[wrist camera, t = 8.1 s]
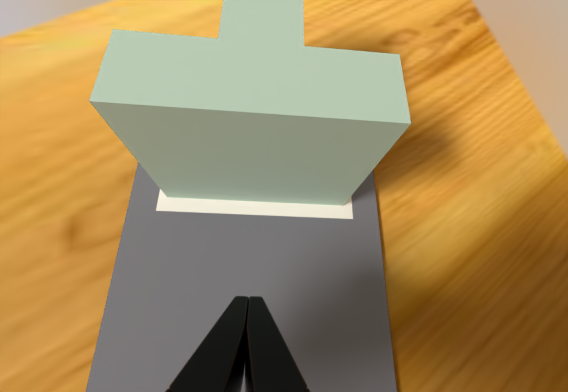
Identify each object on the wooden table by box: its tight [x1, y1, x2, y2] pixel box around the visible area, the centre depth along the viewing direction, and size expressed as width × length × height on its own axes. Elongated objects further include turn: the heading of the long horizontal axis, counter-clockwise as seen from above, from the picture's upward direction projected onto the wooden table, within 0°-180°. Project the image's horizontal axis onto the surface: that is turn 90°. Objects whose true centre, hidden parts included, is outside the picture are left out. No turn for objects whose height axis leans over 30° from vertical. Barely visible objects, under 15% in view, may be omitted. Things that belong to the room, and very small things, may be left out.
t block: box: [89, 0, 411, 206], centre depth 15 cm, size 10×10×8 cm
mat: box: [86, 162, 397, 392], centre depth 16 cm, size 22×14×1 cm, turn 179°
